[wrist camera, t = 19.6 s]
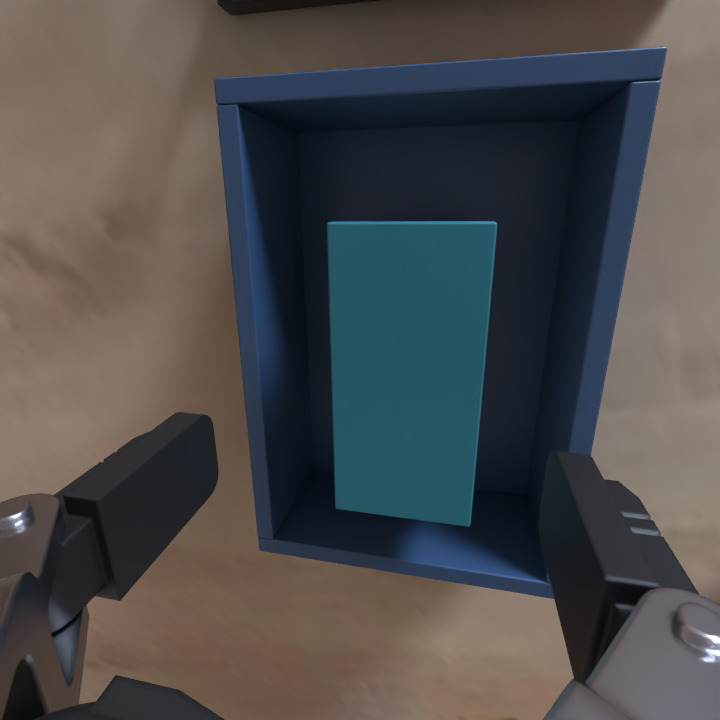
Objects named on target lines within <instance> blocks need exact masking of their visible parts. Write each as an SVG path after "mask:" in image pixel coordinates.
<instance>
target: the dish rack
mask: <svg viewBox="0 0 720 720" xmlns="http://www.w3.org/2000/svg"><path fill="white" fill-rule="evenodd" d="M217 1H218V5H219V6H220V7H221V8H223V9H224V10H225V11H226V12H227V13H229V14H230V15H239V14H248V13H258V12H268V11H278V10H288V9H297V8H307V7H317V6H327V5H337V4H346V3H356V2H366V1H376V0H217Z"/></svg>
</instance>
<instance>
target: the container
mask: <svg viewBox="0 0 720 720" xmlns="http://www.w3.org/2000/svg"><path fill="white" fill-rule="evenodd" d="M496 235H497V223H496V222H494V221H345V222H328V224H327V242H328V276H329V310H330V343H331V377H332V411H333V445H334V479H335V507H336V509H341V510H348V511H356V512H363V513H370V514H378V515H385V516H393V517H400V518H407V519H415V520H422V521H429V522H437V523H444V524H452V525H459V526H466V527H469V526H470V525H471V514H472V503H473V492H474V481H475V470H476V459H477V447H478V436H479V425H480V414H481V403H482V392H483V380H484V369H485V358H486V347H487V336H488V325H489V313H490V302H491V291H492V280H493V269H494V258H495V246H496Z"/></svg>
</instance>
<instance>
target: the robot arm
mask: <svg viewBox="0 0 720 720" xmlns="http://www.w3.org/2000/svg"><path fill="white" fill-rule="evenodd" d="M217 480H218V462H217V454H216V445H215V437H214V429H213V423H212V420H211V418H210V417H209V416H208V415H202V414H192V413H182V412H178V413H175V414H174V415H172V416H171V417H170V418H168V419H167V420H166V421H164V422H163V423H161V424H160V425H159V426H157V427H156V428H155V429H153V430H152V431H150V432H148V433H145V434H143V435H141V436H138V437H136V438H134V439H132V440H131V441H130V442H128V443H127V444H125V445H124V446H122V447H121V448H120V449H118V451H117V453H115V452H114V453H113V454H111V455H110V456H108V457H107V458H106V459H104V462H103V463H102V462H100V463H99V464H97V465H96V466H94V467H93V468H91V469H90V470H89V471H87V472H86V473H84V474H83V475H82V476H80V477H79V478H77V479H76V480H75V481H73V482H72V483H70V484H69V485H68V486H66V487H65V488H63V489H62V490H60V491H59V492H58V493H56V494H55V495H49V494H29V495H23V496H19V497H15V498H12V499H9V500H6V501H3V502H1V503H0V720H224V719H223V718H221V717H220V716H218V715H217V714H215V713H214V712H212V711H211V710H209V709H208V708H206V707H204V706H203V705H201V704H200V703H198V702H197V701H195V700H194V699H192V698H191V697H189V696H188V695H186V694H185V693H183V692H181V691H180V690H177V689H172V688H168V687H164V686H160V685H155V684H151V683H147V682H143V681H139V680H134V679H130V678H126V677H122V676H117V675H115V677H114V678H113V680H112V681H111V682H110V684H109V685H108V686H107V688H106V689H105V690H104V692H103V693H102V695H101V696H100V697H99V699H98V700H97V701H96V702H90V703H85V704H80V705H79V697H80V689H81V681H82V673H83V664H84V656H85V648H86V640H87V632H88V623H89V613H88V609H87V604H88V602H89V601H90V600H91V599H92V598H93V597H94V596H98V597H103V598H108V599H113V600H118V601H120V600H121V599H122V598H123V597H124V596H125V594H126V593H127V592H128V591H129V590H130V589H131V587H132V586H133V585H134V584H135V583H136V582H137V580H138V579H139V578H140V577H141V576H142V575H143V574H144V572H145V571H146V570H147V569H148V568H149V567H150V565H151V564H152V563H153V562H154V561H155V560H156V558H157V557H158V556H159V555H160V554H161V553H162V551H163V550H164V549H165V548H166V547H167V546H168V544H169V543H170V542H171V541H172V540H173V539H174V538H175V536H176V535H177V534H178V533H179V532H180V531H181V529H182V528H183V527H184V526H185V525H186V524H187V522H188V521H189V520H190V519H191V518H192V517H193V515H194V514H195V513H196V512H197V511H198V510H199V508H200V507H201V506H202V505H203V504H204V503H205V502H206V500H207V499H208V498H209V497H210V496H211V494H212V493H213V491H214V489H215V487H216V484H217ZM539 536H540V542H541V546H542V550H543V554H544V558H545V562H546V566H547V570H548V574H549V578H550V582H551V587H552V591H553V595H554V599H555V603H556V607H557V611H558V615H559V619H560V623H561V627H562V631H563V635H564V639H565V643H566V647H567V651H568V655H569V659H570V663H571V667H572V671H573V675H574V679H573V680H572V681H571V682H570V683H569V684H568V685H567V686H566V687H565V689H564V690H563V691H562V693H561V694H560V696H559V697H558V699H557V700H556V701H555V703H554V704H553V706H552V707H551V709H550V710H549V712H548V713H547V714H546V716H545V717H544V719H543V720H720V605H719V604H717V603H716V602H714V601H712V600H710V599H707V598H705V597H703V596H701V595H699V593H698V592H697V590H696V589H695V587H694V585H693V584H692V582H691V581H690V579H689V577H688V576H687V574H686V573H685V571H684V569H683V568H682V566H681V565H680V563H679V561H678V560H677V558H676V557H675V555H674V553H673V552H672V550H671V549H670V547H669V545H668V544H667V542H666V541H665V539H664V537H661V535H660V531H659V529H658V528H657V526H656V525H655V523H654V521H653V520H651V519H650V515H649V513H648V512H647V510H646V509H645V507H644V505H643V504H642V502H641V501H640V499H639V498H638V497H637V496H636V495H635V494H633V493H632V492H631V491H630V490H628V489H627V488H626V487H625V486H623V485H622V484H621V483H620V482H618V481H613V480H604V479H603V477H602V475H601V473H600V471H599V469H598V467H597V466H596V464H595V462H594V460H593V458H592V457H591V455H589V454H582V453H572V452H562V451H551V452H550V454H549V457H548V461H547V467H546V474H545V480H544V486H543V493H542V499H541V505H540V512H539Z"/></svg>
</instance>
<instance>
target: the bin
mask: <svg viewBox="0 0 720 720" xmlns="http://www.w3.org/2000/svg"><path fill="white" fill-rule="evenodd" d="M666 52H667V47H650V48H636V49H622V50H608V51H594V52H580V53H565V54H551V55H537V56H523V57H509V58H495V59H481V60H467V61H453V62H439V63H425V64H411V65H396V66H382V67H368V68H354V69H340V70H326V71H312V72H298V73H284V74H270V75H256V76H242V77H227V78H216V79H215V80H214V83H215V93H216V103H217V105H218V106H217V115H218V125H219V136H220V146H221V156H222V167H223V177H224V188H225V198H226V209H227V219H228V229H229V240H230V250H231V261H232V271H233V281H234V292H235V302H236V313H237V323H238V334H239V344H240V354H241V365H242V375H243V386H244V396H245V406H246V417H247V427H248V438H249V448H250V458H251V469H252V479H253V490H254V500H255V511H256V521H257V531H258V537H259V538H258V540H259V549H260V550H261V551H266V552H272V553H278V554H284V555H291V556H297V557H303V558H309V559H315V560H321V561H327V562H333V563H339V564H345V565H351V566H358V567H364V568H370V569H376V570H382V571H388V572H394V573H400V574H406V575H412V576H419V577H425V578H431V579H437V580H443V581H449V582H455V583H461V584H467V585H473V586H479V587H486V588H492V589H498V590H504V591H510V592H516V593H522V594H528V595H534V596H540V597H547V598H553V599H554V595H553V591H552V587H551V582H550V578H549V574H548V570H547V566H546V562H545V558H544V554H543V550H542V546H541V542H540V536H539V512H540V505H541V499H542V493H543V486H544V480H545V474H546V467H547V461H548V457H549V454H550V452H551V451H562V452H572V453H582V454H589V455H591V450H592V445H593V440H594V434H595V429H596V424H597V418H598V413H599V408H600V402H601V397H602V392H603V386H604V381H605V376H606V371H607V365H608V360H609V355H610V349H611V344H612V339H613V333H614V328H615V323H616V317H617V312H618V307H619V301H620V296H621V291H622V285H623V280H624V275H625V269H626V264H627V259H628V253H629V248H630V243H631V238H632V232H633V227H634V222H635V216H636V211H637V206H638V200H639V195H640V190H641V184H642V179H643V174H644V168H645V163H646V158H647V152H648V147H649V142H650V136H651V131H652V126H653V121H654V115H655V110H656V105H657V99H658V94H659V89H660V81H658V80H660V79H661V77H662V73H663V68H664V62H665V57H666ZM345 221H494V222H496V223H497V235H496V246H495V258H494V269H493V280H492V291H491V302H490V313H489V325H488V336H487V347H486V358H485V369H484V380H483V392H482V403H481V414H480V425H479V436H478V447H477V459H476V470H475V481H474V492H473V503H472V514H471V525H470V526H469V527H466V526H459V525H452V524H444V523H437V522H429V521H422V520H415V519H407V518H400V517H393V516H385V515H378V514H370V513H363V512H356V511H348V510H341V509H336V507H335V479H334V445H333V411H332V377H331V343H330V310H329V276H328V242H327V224H328V222H345Z"/></svg>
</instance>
